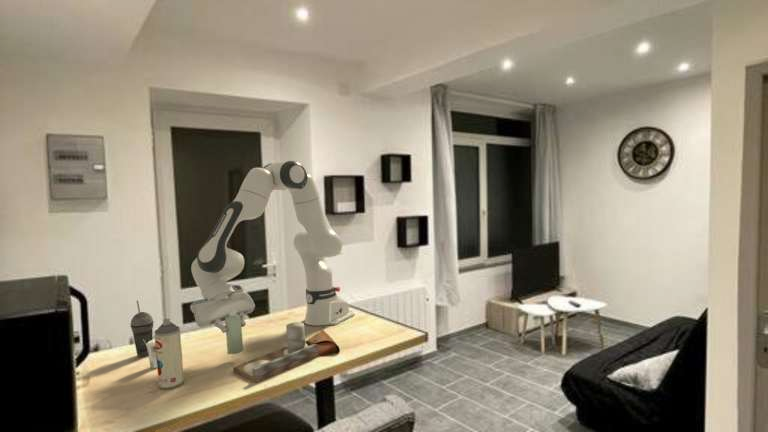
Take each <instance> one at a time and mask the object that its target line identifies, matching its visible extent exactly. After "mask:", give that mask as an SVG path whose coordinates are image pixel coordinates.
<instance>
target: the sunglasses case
mask: <svg viewBox="0 0 768 432" xmlns="http://www.w3.org/2000/svg"><path fill="white" fill-rule="evenodd" d="M305 344H308V346H310V345H312V344H317V349H318V356H317V357H316V358H321V357H325V356H330V355H335V354H339V353H340V352H341V349H340V347H339V345H338V344H337V343H336V341H334V339H333V338H332V337H331V336H330V334H328V333H327V331H325V330H323V328H322V329H321V330H320V331H319V332H318V333H316V334H315V335H313V336H311V337H310V338H308V339H307V340H305Z"/></svg>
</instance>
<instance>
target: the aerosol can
mask: <svg viewBox="0 0 768 432" xmlns="http://www.w3.org/2000/svg"><path fill="white" fill-rule="evenodd" d="M154 339H155V346H156V358H157V368H156V369H157V378H158V379H157V381H158V388H159V389H160V390H162V391H165V390H166V391H167V390H174V389H176V388H180V387H181V386H182V385H184V383H185V377H184V364H183V353H182V339H181V329H180V327H179V326H178V325H176V324H175V323H173V322H171V319H170V318H163V323H162V324H161V325H160V326H158V327H157V329H156V330H155V331H154Z"/></svg>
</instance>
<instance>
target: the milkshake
mask: <svg viewBox="0 0 768 432" xmlns="http://www.w3.org/2000/svg"><path fill="white" fill-rule="evenodd" d="M143 340H144V339H143ZM144 342H145V341H144ZM146 346H147V351H148V360H149V361H148V362H149V367H150V369H152V370H155V369H157V358H156V346H155V338H152V340H151V341H149V342H148V343H147V344H146Z"/></svg>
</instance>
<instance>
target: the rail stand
mask: <svg viewBox="0 0 768 432" xmlns="http://www.w3.org/2000/svg"><path fill="white" fill-rule="evenodd" d="M285 330H286V345H287V346H285V347H282V348H279V349H277V350H274V351H272V352H269V353H267V354H264V355H261V356H259V357H256V358H254V359H251V360H248V361H246V362H242V363H240V364H238V365H235V366H233V368H232V369H233V373H236V374H237V375H240V376H242V377H244V378H246V379H247V380H250V381H252V382H254V383H259V382H262V381H264V380H266V379H269V378H271V377H274V376H276V375H277V374H280V373H283V372H285V371H287V370H290V369H291V368H294V367H296V366H298V365H299V366H300V365H301V364H303V363H306V362H308V361H310V360H312V359H315V358H318V357H317V356H318V349H317V344H312V345H310V346H309V345H307V346H306V342H305V341H306V337H305V336H306V335H305V334H306V333H305V332H306V331H305V322H304V323H303V322H300V321H299V322H290V323H288V324H286V328H285Z"/></svg>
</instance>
